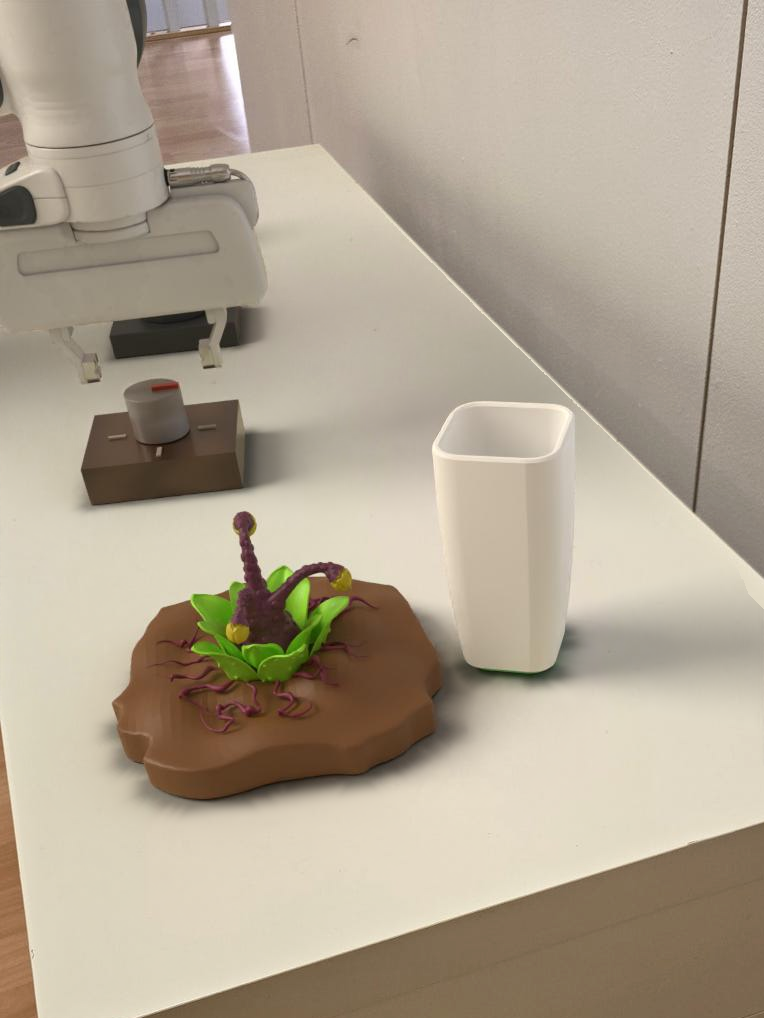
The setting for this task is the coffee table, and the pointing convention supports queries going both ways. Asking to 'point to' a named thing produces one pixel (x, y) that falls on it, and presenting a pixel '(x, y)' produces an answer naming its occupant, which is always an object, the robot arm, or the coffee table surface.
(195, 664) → the plant
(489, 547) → the cup
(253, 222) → the robot arm
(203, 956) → the coffee table surface
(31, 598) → the coffee table surface
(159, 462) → the dial panel
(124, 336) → the button housing
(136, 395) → the dial
